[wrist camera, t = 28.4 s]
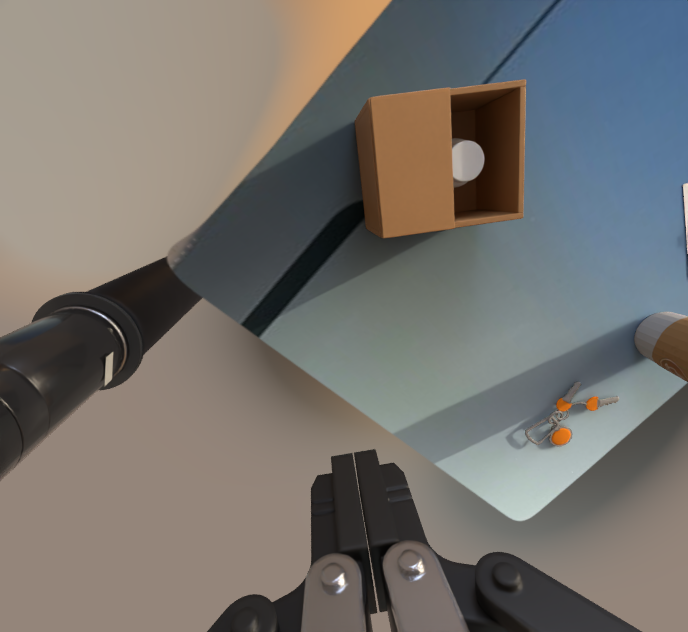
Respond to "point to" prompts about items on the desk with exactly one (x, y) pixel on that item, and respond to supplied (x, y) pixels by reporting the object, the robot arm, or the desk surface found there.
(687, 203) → the white square mat
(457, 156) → the pill bottle
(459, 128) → the carton
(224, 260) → the desk surface
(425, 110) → the bin flap
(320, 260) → the desk surface
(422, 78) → the desk surface
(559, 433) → the key chain
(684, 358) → the coffee cup
